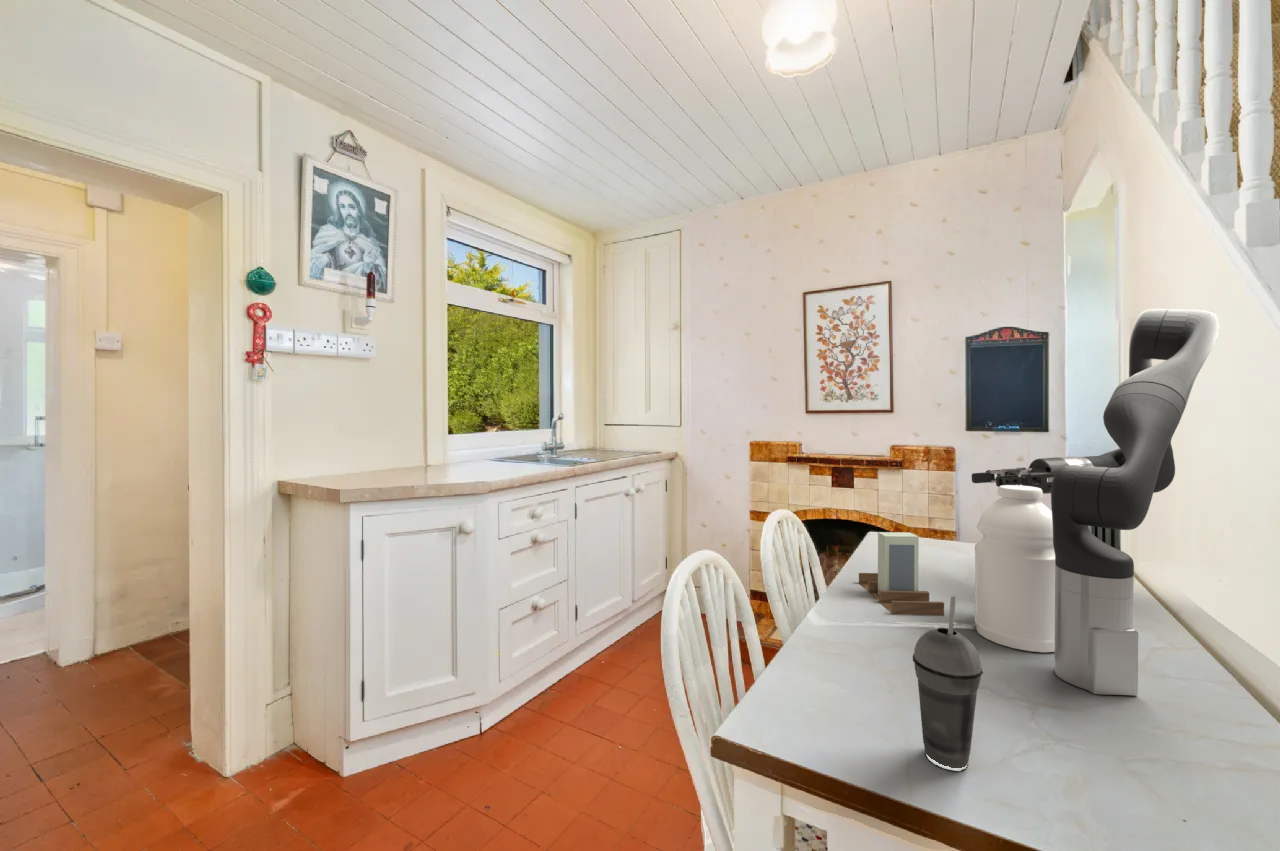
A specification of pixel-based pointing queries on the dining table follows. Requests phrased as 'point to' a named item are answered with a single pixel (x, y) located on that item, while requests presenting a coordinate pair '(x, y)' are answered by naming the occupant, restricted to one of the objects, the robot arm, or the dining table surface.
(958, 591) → the dining table surface
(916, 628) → the dining table surface
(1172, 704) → the dining table surface
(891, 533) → the beige box
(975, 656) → the beverage cup
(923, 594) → the stand
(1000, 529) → the bottle
